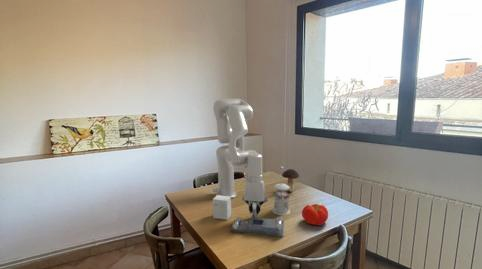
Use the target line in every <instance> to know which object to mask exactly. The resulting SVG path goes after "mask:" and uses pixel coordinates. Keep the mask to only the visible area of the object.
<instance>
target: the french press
mask: <svg viewBox="0 0 482 269" xmlns="http://www.w3.org/2000/svg"><path fill="white" fill-rule="evenodd" d="M284 169H285V167H284V166H280V170H284ZM273 187H274V189H275V190H277V192H275V193H274V201H273V202H274V204H273V207H274V208H272V210H271V211H272V213H273V214H276V215H277V216H287V215H289V214H290V213H291V210H290V205H289V204H290V202H289V201H290V197H289V193H288V192H287V191H288V189H289V186H288V185H287V184H285V183H276V184H275V185H274V186H273Z"/></svg>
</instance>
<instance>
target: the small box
mask: <svg viewBox="0 0 482 269" xmlns="http://www.w3.org/2000/svg"><path fill="white" fill-rule="evenodd" d="M231 200H232V198H231V197H228V196H220V195H217V196H216V195H215V197H213V198H212V212H213V213H212V214H213V216H212V217H213V218H212V219H217V220H218V219H219V220H225V221H229V218H230V217H231V216H232V201H231Z"/></svg>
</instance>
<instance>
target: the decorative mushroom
mask: <svg viewBox="0 0 482 269" xmlns="http://www.w3.org/2000/svg"><path fill="white" fill-rule="evenodd" d="M281 177H282V178H286V179H287V184H286V185H288V186H289V189H288V190H287V191H288V192H290V193H291V192H294V190H295V185H294V184H295V182H294V179H298V178H300V174H299V172H298V171H296V170H295V169H292V168H288V169H286V170H284V171H282V173H281Z"/></svg>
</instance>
